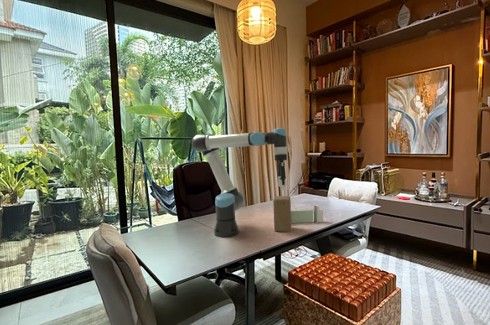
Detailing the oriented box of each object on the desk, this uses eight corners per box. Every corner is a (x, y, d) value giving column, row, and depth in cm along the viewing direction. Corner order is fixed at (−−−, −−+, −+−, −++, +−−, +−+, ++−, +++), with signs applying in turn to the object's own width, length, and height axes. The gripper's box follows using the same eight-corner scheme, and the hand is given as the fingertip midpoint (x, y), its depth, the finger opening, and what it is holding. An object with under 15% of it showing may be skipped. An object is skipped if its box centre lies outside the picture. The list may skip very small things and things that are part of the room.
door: (312, 221, 177) (312, 209, 176) (313, 222, 174) (313, 210, 173) (284, 222, 177) (283, 210, 176) (284, 223, 174) (284, 211, 174)
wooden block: (290, 232, 159) (289, 199, 157) (274, 231, 161) (273, 199, 159) (291, 226, 168) (290, 195, 167) (275, 226, 170) (274, 195, 169)
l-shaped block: (276, 223, 176) (275, 207, 175) (276, 223, 178) (275, 206, 177) (323, 222, 175) (322, 205, 174) (322, 221, 177) (321, 205, 176)
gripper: (290, 154, 149) (291, 191, 150) (284, 152, 173) (285, 184, 175) (276, 155, 149) (278, 192, 150) (272, 153, 174) (273, 185, 175)
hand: (281, 188), depth 163 cm, fingers open, 13 cm apart
